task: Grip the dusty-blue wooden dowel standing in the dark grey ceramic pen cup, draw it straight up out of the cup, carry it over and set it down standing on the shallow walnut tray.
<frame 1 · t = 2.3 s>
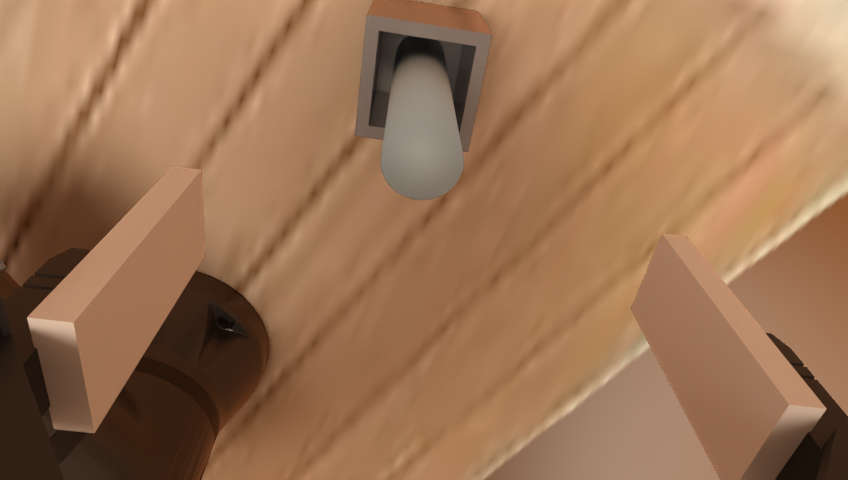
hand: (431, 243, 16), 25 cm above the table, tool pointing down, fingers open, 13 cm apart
dowel: (419, 58, 38), point 1 cm above the table, touching cup
cup: (419, 55, 38), on the table
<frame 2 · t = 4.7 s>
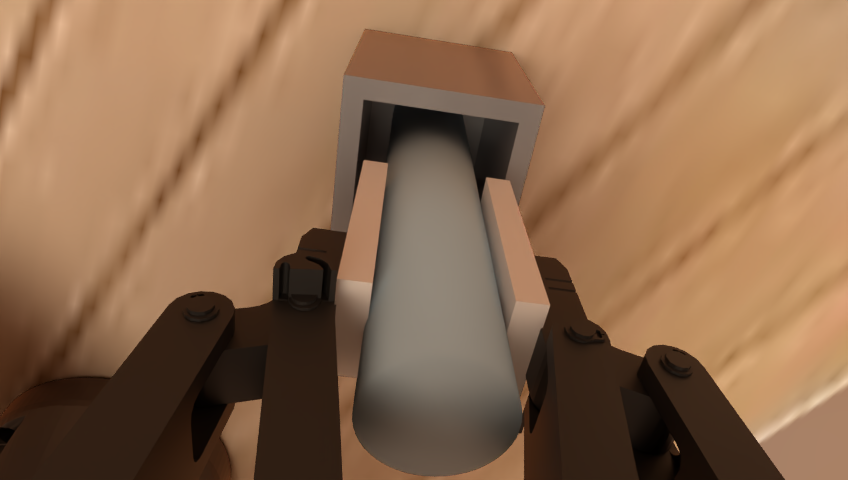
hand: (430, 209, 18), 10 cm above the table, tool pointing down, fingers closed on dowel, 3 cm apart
dowel: (427, 117, 26), point 1 cm above the table, touching cup, gripper
cup: (427, 112, 27), on the table
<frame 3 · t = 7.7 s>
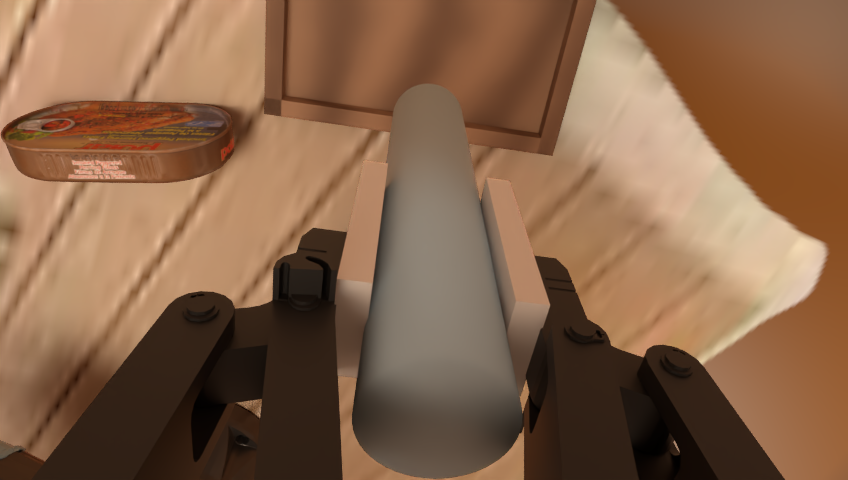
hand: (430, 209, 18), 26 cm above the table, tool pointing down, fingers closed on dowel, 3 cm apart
dowel: (427, 118, 26), point 17 cm above the table, touching gripper
tin: (150, 120, 44), on the table
tray: (424, 42, 41), on the table
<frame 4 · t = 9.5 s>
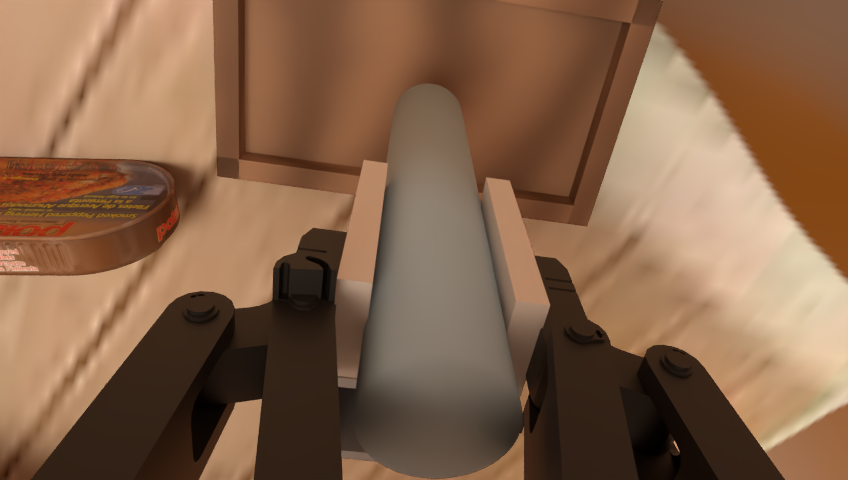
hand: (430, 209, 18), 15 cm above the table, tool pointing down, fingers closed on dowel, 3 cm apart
dowel: (427, 118, 26), point 6 cm above the table, touching gripper
cup: (384, 336, 41), on the table
tin: (75, 180, 35), on the table
tray: (423, 85, 32), on the table
when the fingers open (11 cm above the table, at t = 11.0 s): dowel drops 2 cm, resting on tray.
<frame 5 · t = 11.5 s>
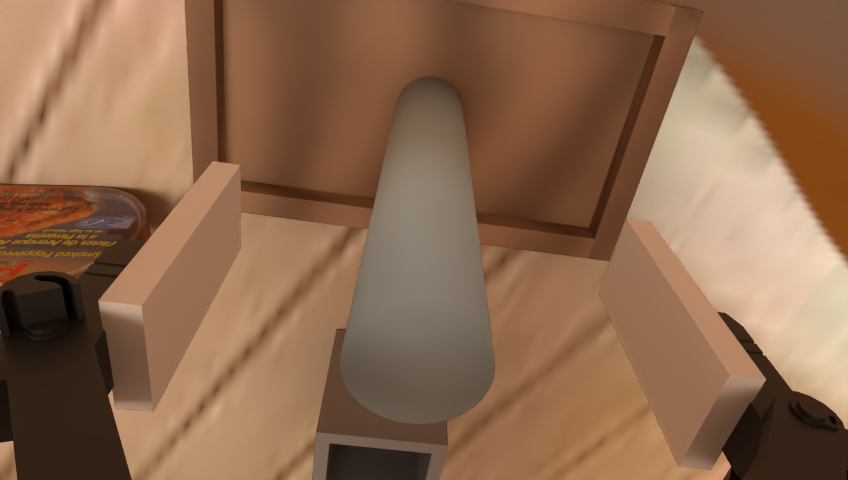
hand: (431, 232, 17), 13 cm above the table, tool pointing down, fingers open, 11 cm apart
dowel: (429, 110, 27), point 1 cm above the table, touching tray
cup: (383, 374, 37), on the table
tin: (39, 208, 31), on the table
tray: (427, 104, 28), on the table
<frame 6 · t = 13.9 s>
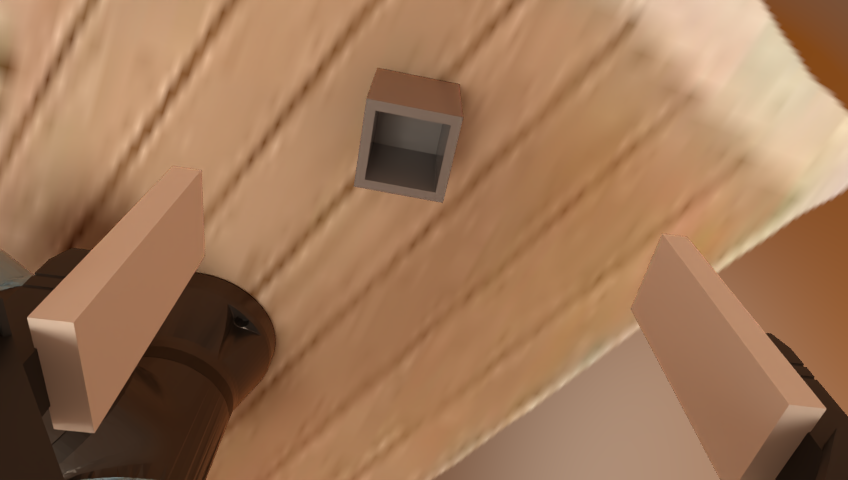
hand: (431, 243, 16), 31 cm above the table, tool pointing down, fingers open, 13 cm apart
cup: (411, 115, 47), on the table
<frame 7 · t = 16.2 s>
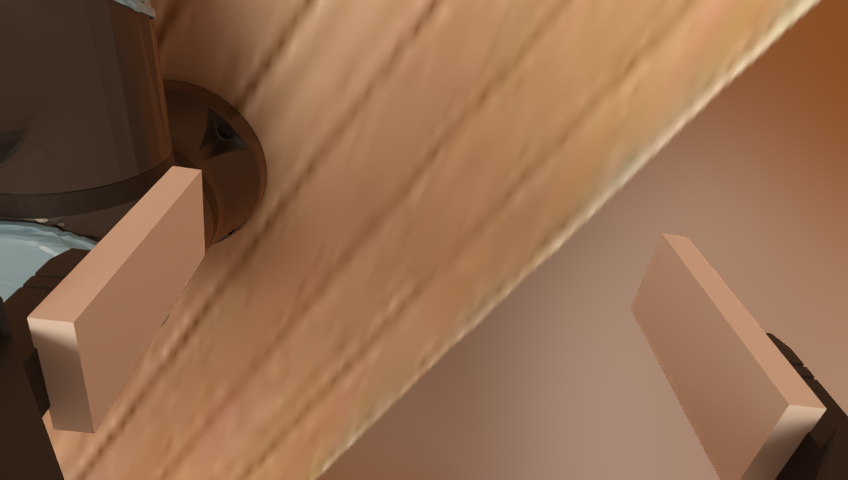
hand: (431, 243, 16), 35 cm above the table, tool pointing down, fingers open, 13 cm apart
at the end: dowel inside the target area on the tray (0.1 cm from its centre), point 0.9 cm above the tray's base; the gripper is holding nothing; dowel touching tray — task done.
